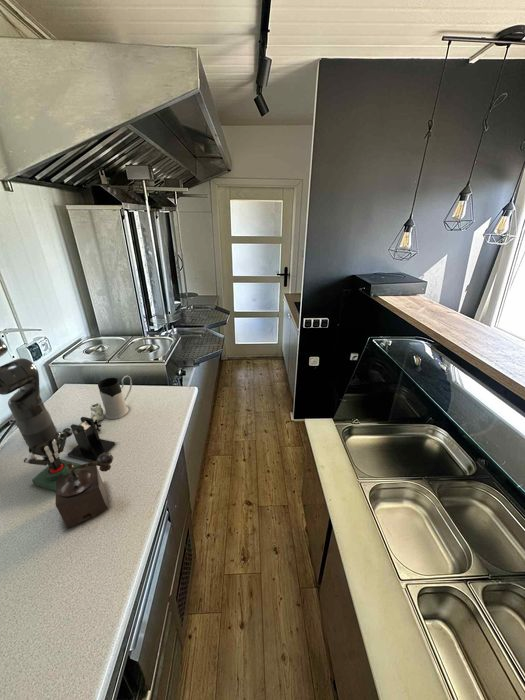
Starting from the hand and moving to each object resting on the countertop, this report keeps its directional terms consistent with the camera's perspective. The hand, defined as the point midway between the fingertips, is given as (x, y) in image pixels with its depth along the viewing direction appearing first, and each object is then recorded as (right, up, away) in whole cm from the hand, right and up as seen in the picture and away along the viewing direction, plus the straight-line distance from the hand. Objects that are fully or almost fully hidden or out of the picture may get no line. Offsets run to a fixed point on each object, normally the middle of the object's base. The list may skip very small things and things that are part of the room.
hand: (56, 467), depth 90 cm
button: (0, -2, +1) cm, 2 cm away
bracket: (+4, +1, +12) cm, 13 cm away
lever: (0, +8, +10) cm, 13 cm away
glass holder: (+5, +11, +33) cm, 36 cm away
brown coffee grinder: (+16, -8, -6) cm, 19 cm away
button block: (0, -4, +2) cm, 4 cm away
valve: (-1, +7, +25) cm, 26 cm away
